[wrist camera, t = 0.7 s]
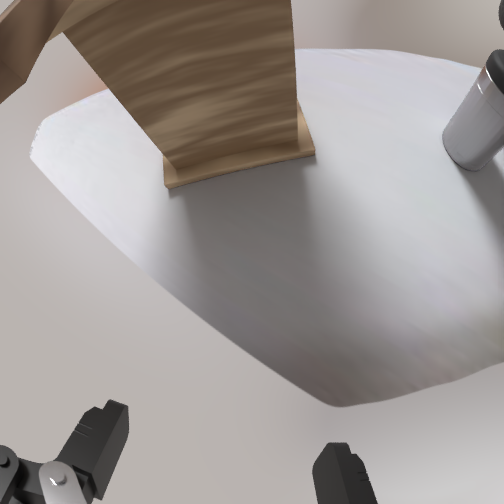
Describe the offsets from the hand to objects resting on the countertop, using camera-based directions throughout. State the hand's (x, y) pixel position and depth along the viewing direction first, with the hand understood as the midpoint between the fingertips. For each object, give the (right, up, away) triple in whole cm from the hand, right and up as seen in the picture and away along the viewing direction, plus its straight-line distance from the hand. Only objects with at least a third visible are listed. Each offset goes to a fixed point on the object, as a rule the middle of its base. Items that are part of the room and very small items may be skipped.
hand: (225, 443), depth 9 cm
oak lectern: (-2, +28, +33) cm, 43 cm away
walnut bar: (-12, +26, +1) cm, 29 cm away
